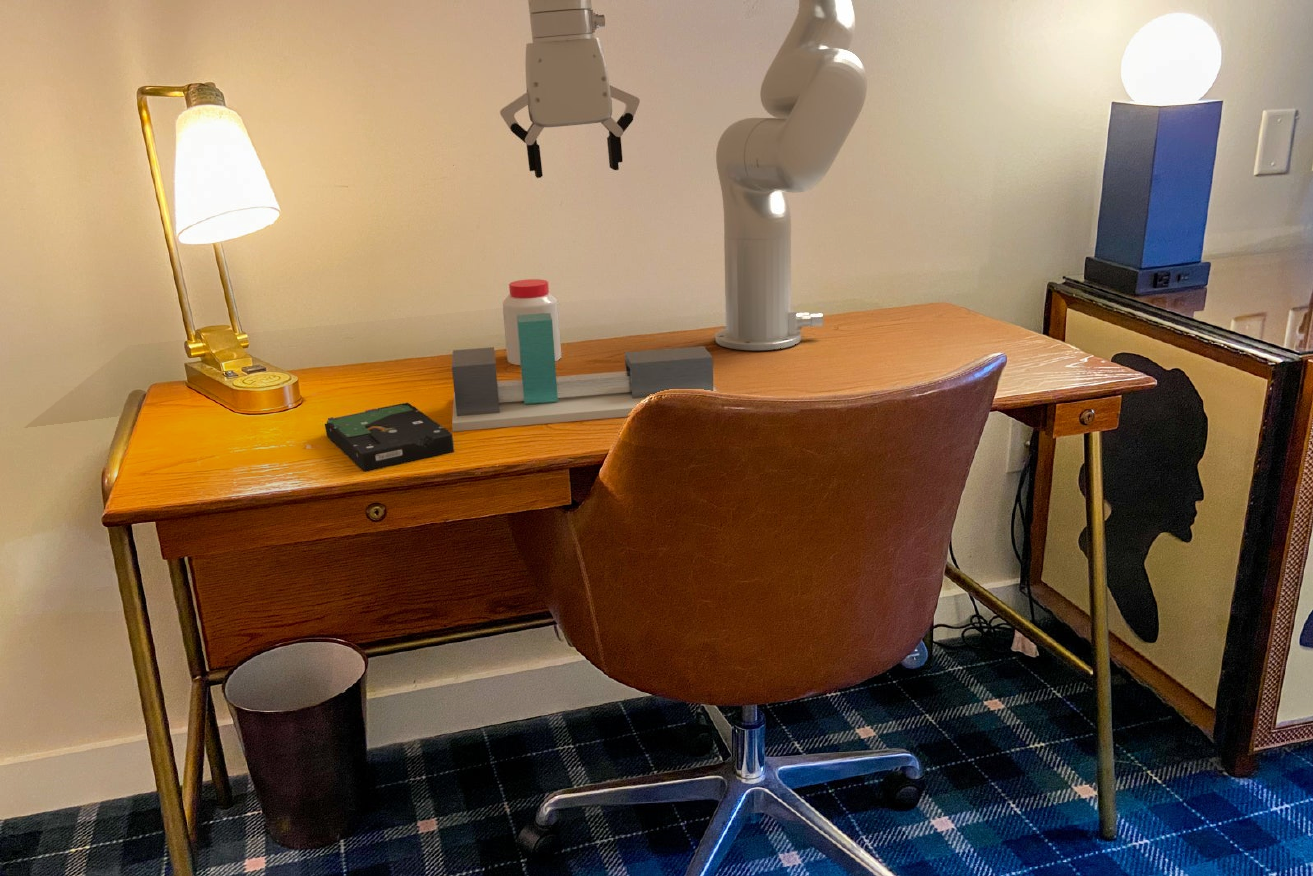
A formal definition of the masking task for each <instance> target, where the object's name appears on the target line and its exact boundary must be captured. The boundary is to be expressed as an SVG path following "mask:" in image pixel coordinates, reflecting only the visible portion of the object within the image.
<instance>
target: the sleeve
mask: <svg viewBox="0 0 1313 876" xmlns="http://www.w3.org/2000/svg"><path fill="white" fill-rule="evenodd" d="M624 364H625V366H624V367H625V371H630V373H631V394H632V398H633V399H635V398H646V397H647V396H649V395H650V394H655V393H657V392H660V391H664V390H669V389H704V390H711V391H713V386H714V358H713V356H712V354H711V353H710V352H709V351H708V350H707V349H706V347H705V346H704V345H701V346H688V347H687V346H686V347H676V348H675V347H674V348H664V349H660V348H659V349H649V350H637V351H635V350H634V351H625V352H624Z"/></svg>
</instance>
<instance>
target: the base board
mask: <svg viewBox="0 0 1313 876" xmlns="http://www.w3.org/2000/svg"><path fill="white" fill-rule="evenodd" d="M713 391H717V392H718V390H717V389H716V387H715V386H714V385H713ZM642 399H645V398H635V399H633V398H632V394H631V392H623V393H611V394H599V395H587V396H574V397H562V398H558V401H556V402H544V403H532V404H524V401H514V402H502V403H499V408H500V413H491V414H479V415H467V416H457V412H456V403H455V393H454V392H453V402H452V403H453V405H452V420H451V422H452V423H451V425H452V432H462V431H474V430H483V429H484V430H485V429H497V428H508V427H520V426H533V425H543V424H554V423H567V422H577V421H578V422H579V421H589V420H603V419H604V420H605V419H612V418H613V419H614V418H627V417H629V416H628V414H629V413H630V412H631V411H632V409H633V408H634V407H635V406H636V404H637V403H639V402H640V401H641V400H642Z"/></svg>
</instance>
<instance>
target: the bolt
mask: <svg viewBox="0 0 1313 876" xmlns="http://www.w3.org/2000/svg"><path fill="white" fill-rule="evenodd" d="M517 326H518V339H519V351H520V363H521V365H520V371H521V372H520V373H521V375H520V376H521V379H511V380H509V379H508V380H500V381H499V380H497V386H498V397H499V403H502V402H514V401H524V404H532V403H544V402H556V401H558V398H562V397H574V396H587V395H599V394H611V393H623V392H631V373H630V371H626V370H623V371H611V372H600V373H599V372H597V373H587V374H585V373H584V374H571V375H561V376H557V371H556V368H557V367H556V362H555V354H554V340H553V326H552V318H551V315H550V313H542V314H528V315H517Z"/></svg>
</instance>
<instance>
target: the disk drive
mask: <svg viewBox="0 0 1313 876" xmlns="http://www.w3.org/2000/svg"><path fill="white" fill-rule="evenodd" d="M324 428H325V435H326V437H327V438H328V439H329V440H330V442H331V443H333V444H334V445H335V446H336V447H337V448H338V449H340V450H341V452H342V453H343V454H344V455H346V457H347V458H349V459H350V460H351V461H352V462H353V463H354V464H355V466H356V467H357V468H358V469H360V471H362V472H363V473H366V472H367V473H368V472H370V471H371V472H372V471H375V470H381V469H384V468H391V467H394V466H398V465H403V464H408V463H413V462H419V461H422V460H426V459H431V458H434V457H435V458H436V457H440V456H444V455H448V454H455V445H454V444H455V443H454V436H453V433H452V432H451V431H449V429H447V428H446V427H443V425H441V424H440V423H438V422H436V421H435V420H433V419H432V418H430V417H429V415H427V414H425V413H424V412H422V411H420V410H419V409H418V408H417V407H416V406H414V405H412V403H409V402H403V403H398V404H393V405H389V406H383V407H378V408H372V409H366V410H364V411H363V412H357V413H352V414H348V415H344V416H338V417H328V418H327V420H326V423H324Z"/></svg>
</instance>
